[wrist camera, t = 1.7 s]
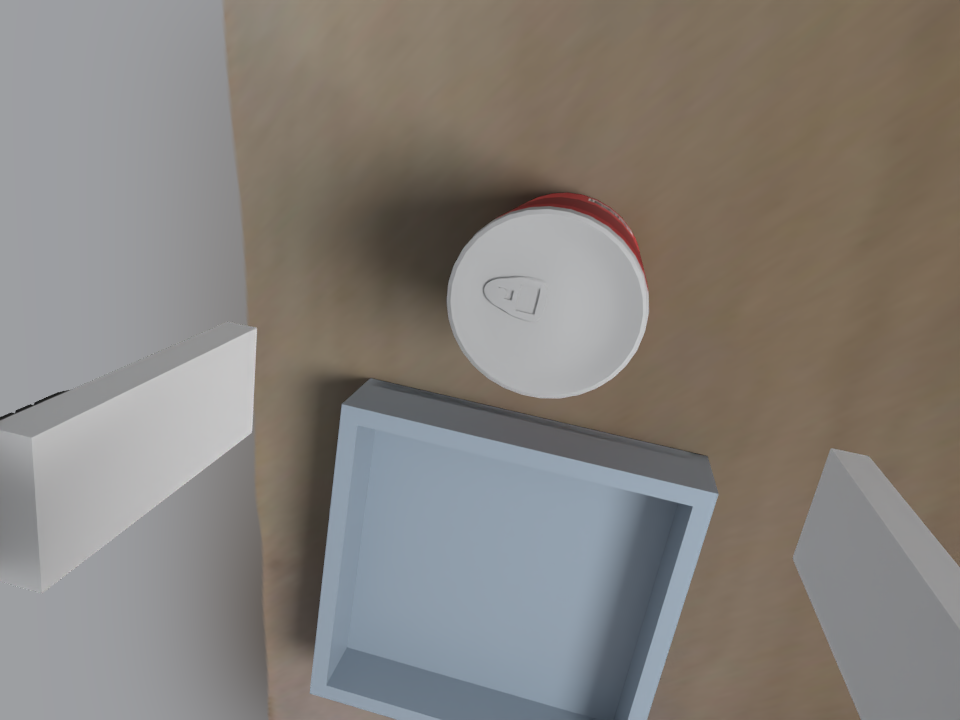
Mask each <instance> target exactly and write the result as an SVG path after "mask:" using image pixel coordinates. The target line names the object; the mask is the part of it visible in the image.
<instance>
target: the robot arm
mask: <svg viewBox="0 0 960 720" xmlns="http://www.w3.org/2000/svg"><path fill="white" fill-rule="evenodd" d="M256 339H257V328H255V327H251V326H246V325H241V324H236V323H231V322H225V323H223V324H221V325H219V326H216V327H214V328H212V329H209V330H207V331H205V332H202V333H200V334H198V335H196V336H193V337H191V338H189V339H187V340H184V341H182V342H179V343H177V344H175V345H173V346H170V347H168V348H166V349H163V350H161V351H159V352H157V353H154V354H152V355H150V356H147V357H145V358H143V359H140V360H138V361H136V362H134V363H131V364H129V365H127V366H124V367H122V368H120V369H117V370H115V371H113V372H111V373H108V374H106V375H104V376H101V377H99V378H97V379H94V380H92V381H90V382H88V383H85V384H83V385H81V386H78V387H76V388H74V389H72V390H67V391H62V392H58V393H56V394H53V395H51V396H48V397H46V398H44V399H42V400H39V401H37V402H35V403H34V405H31V404H30V405H28V406H25V407H23V408H21V409H18V410H16V412H15V413H9V414H7V415H4V416H2V417H0V582H3V583H7V584H10V585H14V586H17V587H21V588H25V589H28V590H32V591H35V592H39V593H43V592H44V591H45V590H47V589H48V588H49V587H51V586H52V585H53V584H55V583H56V582H57V581H59V580H60V579H61V578H63V577H64V576H65V575H66V574H67V573H69V572H70V571H72V570H73V569H74V568H76V567H77V566H78V565H79V564H81V563H82V562H83V561H85V560H86V559H87V558H89V557H90V556H91V555H93V554H94V553H95V552H96V551H98V550H99V549H100V548H102V547H103V546H104V545H106V544H107V543H108V542H110V541H111V540H112V539H113V538H115V537H116V536H117V535H119V534H120V533H121V532H123V531H124V530H125V529H127V528H128V527H129V526H130V525H132V524H133V523H134V522H136V521H137V520H138V519H140V518H141V517H142V516H144V515H145V514H146V513H147V512H149V511H150V510H151V509H153V508H154V507H155V506H157V505H158V504H159V503H160V502H162V501H163V500H164V499H166V498H167V497H168V496H170V495H171V494H172V493H174V492H175V491H176V490H177V489H179V488H180V487H181V486H183V485H184V484H185V483H187V482H188V481H189V480H190V479H192V478H193V477H194V476H196V475H197V474H198V473H200V472H201V471H202V470H204V469H205V468H206V467H208V466H209V465H210V464H211V463H213V462H214V461H215V460H217V459H218V458H219V457H221V456H222V455H223V454H224V453H226V452H227V451H228V450H230V449H231V448H232V447H234V446H235V445H236V444H237V443H239V442H240V441H242V440H243V439H244V438H245V437H247V436H248V435H249V434H251V433H252V423H253V402H254V381H255V360H256ZM793 560H794V563H795V565H796V567H797V570H798V572H799V575H800V577H801V579H802V582H803V584H804V586H805V589H806V591H807V593H808V596H809V598H810V600H811V603H812V605H813V608H814V610H815V612H816V615H817V617H818V619H819V622H820V624H821V626H822V629H823V631H824V633H825V636H826V638H827V641H828V643H829V645H830V648H831V650H832V652H833V655H834V657H835V659H836V662H837V664H838V667H839V669H840V671H841V674H842V676H843V678H844V681H845V683H846V685H847V688H848V690H849V692H850V695H851V697H852V700H853V702H854V704H855V707H856V709H857V711H858V714H859V716H860V718H861V720H960V567H959V566H958V565H957V564H956V562H955V561H954V560H953V559H952V558H951V556H950V555H949V554H948V553H947V551H946V550H945V549H944V548H943V546H942V545H941V544H940V543H939V542H938V540H937V539H936V538H935V537H934V535H933V534H932V533H931V532H930V531H929V529H928V528H927V527H926V526H925V524H924V523H923V522H922V521H921V520H920V518H919V517H918V516H917V515H916V513H915V512H914V511H913V510H912V508H911V507H910V506H909V505H908V504H907V502H906V501H905V500H904V499H903V497H902V496H901V495H900V494H899V493H898V491H897V490H896V489H895V488H894V486H893V485H892V484H891V483H890V481H889V480H888V479H887V478H886V477H885V475H884V474H883V473H882V472H881V470H880V469H879V468H878V467H877V466H876V464H875V463H874V462H873V461H872V459H871V458H870V457H869V456H866V455H861V454H856V453H851V452H847V451H842V450H837V449H832V448H831V449H830V452H829V455H828V458H827V461H826V464H825V467H824V469H823V472H822V475H821V478H820V481H819V484H818V487H817V490H816V492H815V495H814V498H813V501H812V504H811V507H810V510H809V513H808V515H807V518H806V521H805V524H804V527H803V530H802V533H801V536H800V538H799V541H798V544H797V547H796V550H795V553H794V556H793Z"/></svg>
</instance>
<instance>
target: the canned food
mask: <svg viewBox="0 0 960 720" xmlns="http://www.w3.org/2000/svg"><path fill="white" fill-rule="evenodd" d="M447 309H448V318H449V322H450V325H451V328H452V331H453V335H454V337H455V339H456V341H457V343H458V344H459V346H460V348H461V350H462V352H463V353H464V354H465V356H466V357H467V358H468V359H469V361H470V362H471V363H472V364H473V366H474V367H476V368H477V369H478V370H479V371H480V372H481V373H482V374H484V375H485V376H486V377H487V378H488V379H490V380H492V381H493V382H495V383H497V384H498V385H500V386H502V387H504V388H506V389H508V390H511V391H514V392H516V393H519V394H522V395H527V396H532V397H537V398H564V397H570V396H576V395H580V394H583V393H585V392H588V391H591V390H593V389H596V388H598V387H599V386H601V385H603V384H604V383H606V382H607V381H609V380H611V379H612V378H613V377H614V376H616V375H617V374H618V373H619V372H620V371H621V370H622V369H623V368H624V367H625V366H626V365H627V364H628V362H629V361H630V359H631V358H632V357H633V355H634V354H635V352H636V351H637V349H638V347H639V344H640V342H641V340H642V337H643V335H644V332H645V329H646V324H647V319H648V314H649V292H648V285H647V281H646V277H645V272H644V268H643V264H642V260H641V256H640V252H639V248H638V244H637V241H636V239H635V237H634V235H633V233H632V231H631V229H630V228H629V226H628V225H627V224H626V222H625V221H624V220H623V218H622V217H621V216H620V215H618V214H617V213H616V212H615V211H614V210H613V209H612V208H611V207H609V206H607V205H605V204H604V203H602V202H600V201H598V200H596V199H593V198H591V197H588V196H585V195H580V194H573V193H553V194H549V195H545V196H541V197H537V198H535V199H533V200H531V201H529V202H527V203H525V204H523V205H521V206H519V207H517V208H515V209H513V210H511V211H509V212H507V213H505V214H503V215H501V216H499V217H497V218H496V219H494V220H493V221H491V222H490V223H489V224H487V225H486V226H485V227H483V228H482V229H481V230H479V231H478V232H477V233H476V234H475V235H474V236H473V237H472V238H471V240H470V241H469V242H468V243H467V244H466V245H465V247H464V248H463V250H462V252H461V254H460V255H459V257H458V259H457V261H456V262H455V264H454V267H453V270H452V273H451V276H450V279H449V282H448V292H447Z"/></svg>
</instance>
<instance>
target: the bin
mask: <svg viewBox="0 0 960 720" xmlns="http://www.w3.org/2000/svg"><path fill="white" fill-rule="evenodd" d="M717 497H718V491H717V487H716V484H715V480H714V477H713V473H712V470H711V467H710V463H709V460H708V456H704V455H700V454H695V453H691V452H687V451H682V450H678V449H674V448H669V447H665V446H661V445H656V444H652V443H648V442H644V441H639V440H635V439H631V438H626V437H622V436H618V435H613V434H609V433H605V432H600V431H596V430H592V429H588V428H583V427H579V426H575V425H570V424H566V423H562V422H557V421H553V420H549V419H544V418H540V417H536V416H532V415H527V414H523V413H519V412H514V411H510V410H506V409H501V408H497V407H493V406H488V405H484V404H480V403H476V402H471V401H467V400H463V399H458V398H454V397H450V396H445V395H441V394H437V393H432V392H428V391H424V390H420V389H415V388H411V387H407V386H402V385H398V384H394V383H389V382H385V381H381V380H376V379H372V378H370V379H369V380H368V381H367V382H366V383H364V384H363V385H362V386H361V387H360V388H359V389H358V390H357V391H356V392H355V393H353V394H352V395H351V396H350V397H349V398H348V399H347V400H346V401H345V402H344V403H343V404H342V407H341V416H340V425H339V434H338V443H337V452H336V461H335V470H334V479H333V488H332V497H331V506H330V515H329V524H328V533H327V542H326V551H325V560H324V569H323V578H322V587H321V596H320V606H319V615H318V624H317V633H316V642H315V651H314V660H313V669H312V678H311V687H310V694H314V695H317V696H320V697H324V698H327V699H330V700H334V701H337V702H340V703H344V704H347V705H350V706H354V707H357V708H360V709H364V710H367V711H370V712H374V713H377V714H380V715H384V716H387V717H390V718H394V719H397V720H647V717H648V714H649V711H650V708H651V705H652V702H653V699H654V695H655V692H656V689H657V686H658V683H659V680H660V677H661V673H662V670H663V667H664V664H665V661H666V658H667V655H668V651H669V648H670V645H671V642H672V639H673V636H674V633H675V629H676V626H677V623H678V620H679V617H680V614H681V610H682V607H683V604H684V601H685V598H686V595H687V592H688V588H689V585H690V582H691V579H692V576H693V573H694V570H695V566H696V563H697V560H698V557H699V554H700V551H701V548H702V544H703V541H704V538H705V535H706V532H707V529H708V526H709V522H710V519H711V516H712V513H713V510H714V507H715V503H716V500H717Z"/></svg>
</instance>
